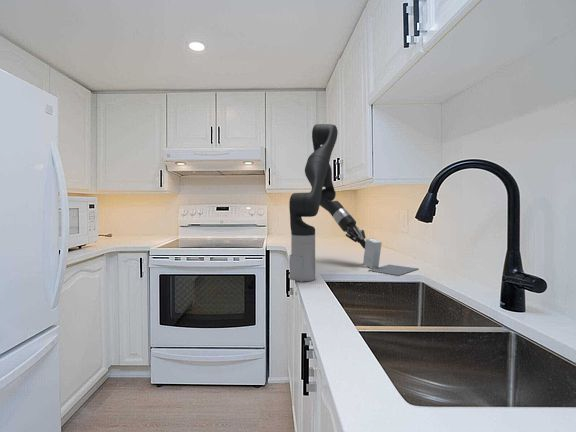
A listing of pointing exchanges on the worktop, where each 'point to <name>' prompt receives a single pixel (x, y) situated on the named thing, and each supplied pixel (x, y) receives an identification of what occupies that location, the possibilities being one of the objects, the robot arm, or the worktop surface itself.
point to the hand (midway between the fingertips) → (366, 247)
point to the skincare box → (372, 253)
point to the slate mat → (393, 270)
